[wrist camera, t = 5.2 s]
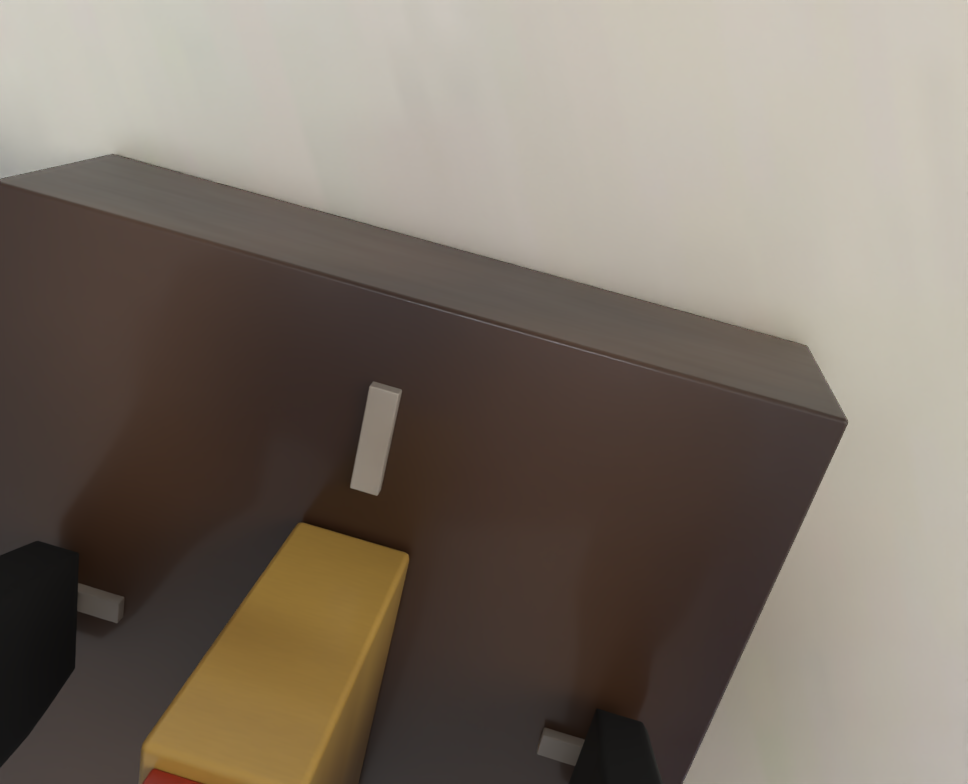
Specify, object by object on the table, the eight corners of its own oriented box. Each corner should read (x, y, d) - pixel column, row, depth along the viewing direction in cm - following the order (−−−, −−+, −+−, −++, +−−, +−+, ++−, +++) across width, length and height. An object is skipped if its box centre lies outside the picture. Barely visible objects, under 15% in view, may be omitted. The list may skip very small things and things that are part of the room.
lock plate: (809, 344, 12) (853, 427, 9) (583, 882, 16) (573, 1034, 14) (110, 152, 12) (-21, 182, 10) (82, 721, 17) (-14, 839, 14)
